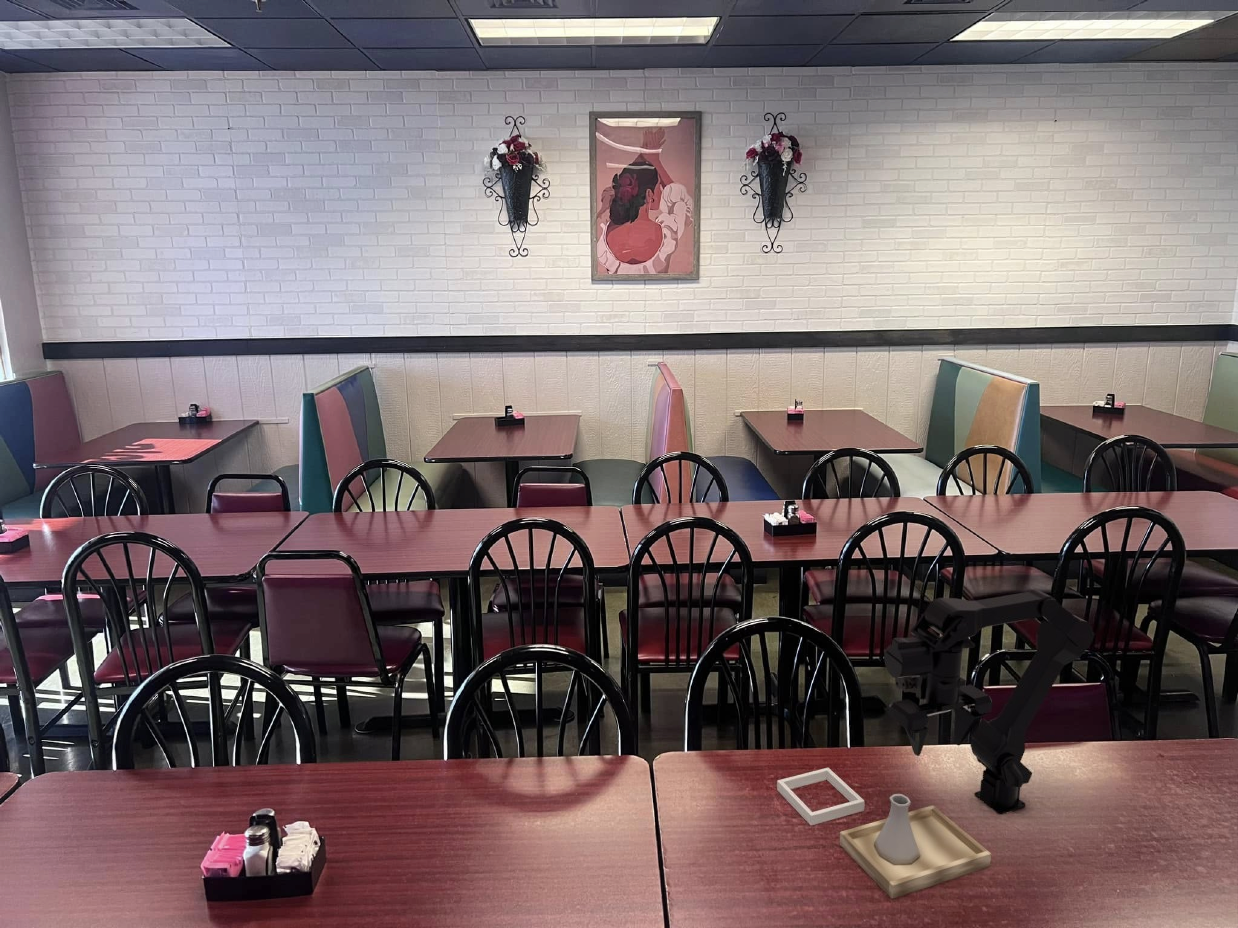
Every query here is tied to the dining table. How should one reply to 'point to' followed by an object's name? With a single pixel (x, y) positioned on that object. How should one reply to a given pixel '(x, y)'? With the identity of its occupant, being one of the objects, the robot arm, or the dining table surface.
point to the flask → (897, 834)
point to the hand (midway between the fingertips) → (937, 749)
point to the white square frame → (825, 814)
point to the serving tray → (939, 848)
